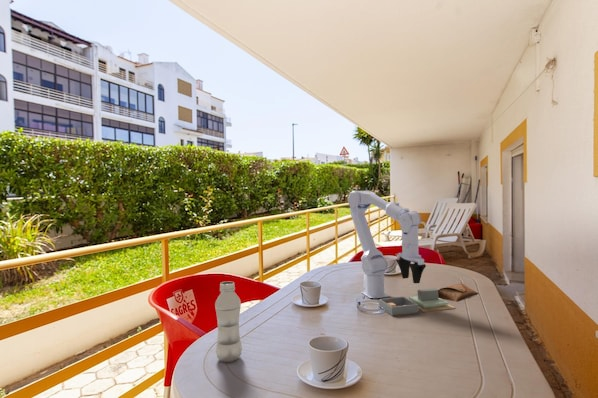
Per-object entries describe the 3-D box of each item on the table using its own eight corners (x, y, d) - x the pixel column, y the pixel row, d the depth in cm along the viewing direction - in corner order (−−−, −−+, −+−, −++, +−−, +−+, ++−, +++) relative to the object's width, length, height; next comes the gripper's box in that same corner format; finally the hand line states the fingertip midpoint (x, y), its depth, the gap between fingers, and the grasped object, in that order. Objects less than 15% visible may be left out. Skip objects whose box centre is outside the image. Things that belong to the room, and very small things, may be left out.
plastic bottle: (218, 354, 95) (215, 280, 95) (243, 353, 95) (241, 279, 95) (214, 366, 88) (211, 287, 88) (241, 364, 89) (239, 285, 89)
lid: (409, 301, 135) (408, 287, 135) (432, 298, 137) (432, 285, 137) (423, 309, 125) (423, 294, 125) (448, 306, 127) (448, 292, 127)
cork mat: (403, 301, 136) (403, 300, 136) (433, 298, 139) (433, 297, 139) (422, 312, 124) (422, 311, 124) (455, 308, 126) (455, 307, 126)
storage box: (379, 307, 130) (378, 299, 130) (403, 304, 132) (403, 296, 132) (392, 316, 120) (391, 307, 120) (418, 313, 123) (418, 304, 123)
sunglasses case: (456, 302, 133) (447, 285, 136) (442, 307, 138) (433, 291, 141) (479, 293, 144) (470, 277, 147) (465, 298, 149) (457, 283, 152)
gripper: (431, 246, 125) (432, 284, 125) (409, 240, 139) (410, 275, 139) (413, 247, 123) (414, 286, 123) (393, 242, 137) (393, 276, 137)
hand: (410, 280), depth 131 cm, fingers open, 7 cm apart
